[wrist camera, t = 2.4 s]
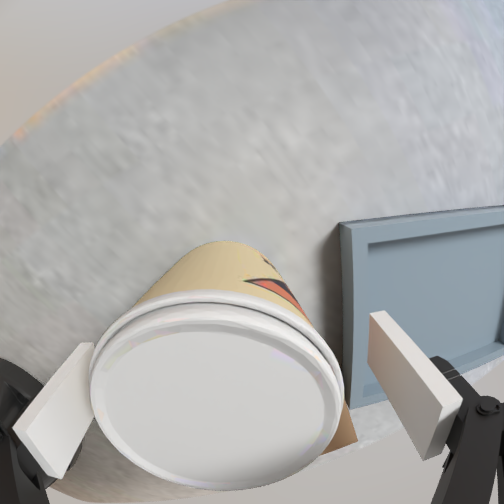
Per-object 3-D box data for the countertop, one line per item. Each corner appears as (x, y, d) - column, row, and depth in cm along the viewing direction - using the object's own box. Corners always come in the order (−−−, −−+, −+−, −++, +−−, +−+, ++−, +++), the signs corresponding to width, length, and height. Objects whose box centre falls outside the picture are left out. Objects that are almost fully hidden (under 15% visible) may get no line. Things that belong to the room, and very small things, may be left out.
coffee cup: (305, 339, 22) (353, 470, 10) (181, 364, 22) (148, 497, 10) (279, 211, 19) (336, 268, 8) (139, 246, 20) (37, 331, 8)
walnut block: (286, 421, 24) (294, 463, 19) (266, 382, 23) (272, 426, 18) (341, 401, 24) (358, 441, 19) (327, 359, 22) (345, 400, 18)
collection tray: (341, 391, 23) (349, 409, 21) (338, 222, 20) (351, 228, 17) (497, 341, 23) (510, 351, 21) (514, 204, 20) (532, 207, 17)
